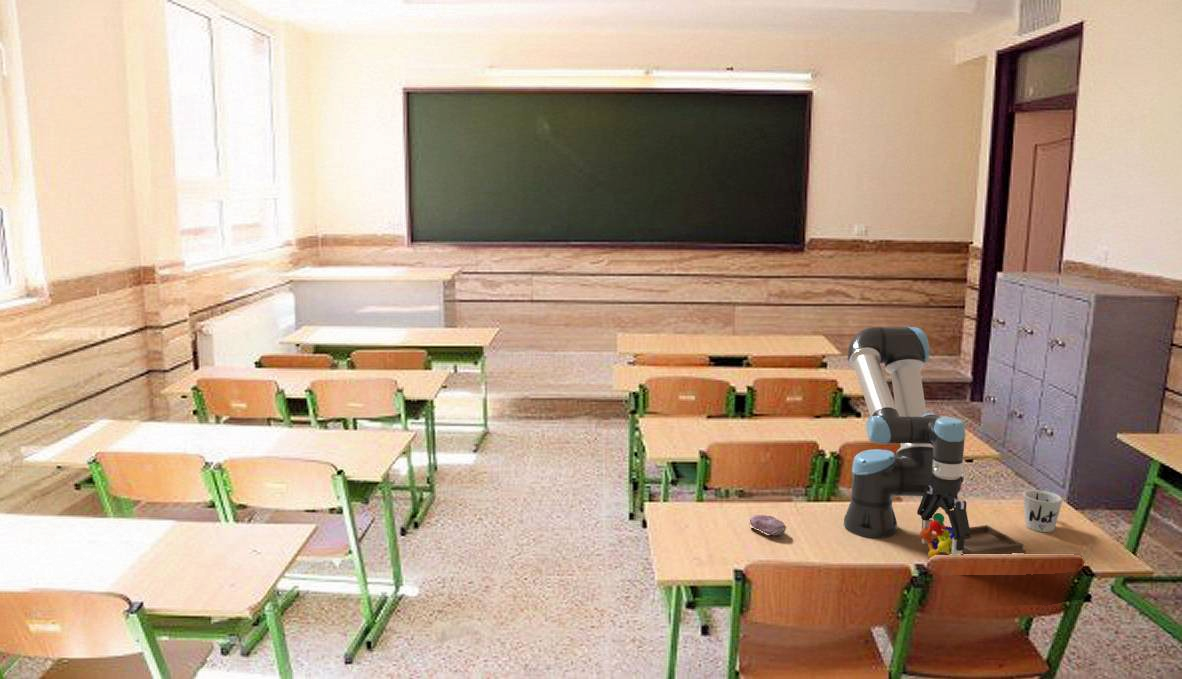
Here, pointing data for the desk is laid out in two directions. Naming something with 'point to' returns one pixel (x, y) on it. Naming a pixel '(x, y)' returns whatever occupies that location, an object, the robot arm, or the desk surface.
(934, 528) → the molecular model
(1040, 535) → the desk surface
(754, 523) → the fossil
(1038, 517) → the mug
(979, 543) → the base
